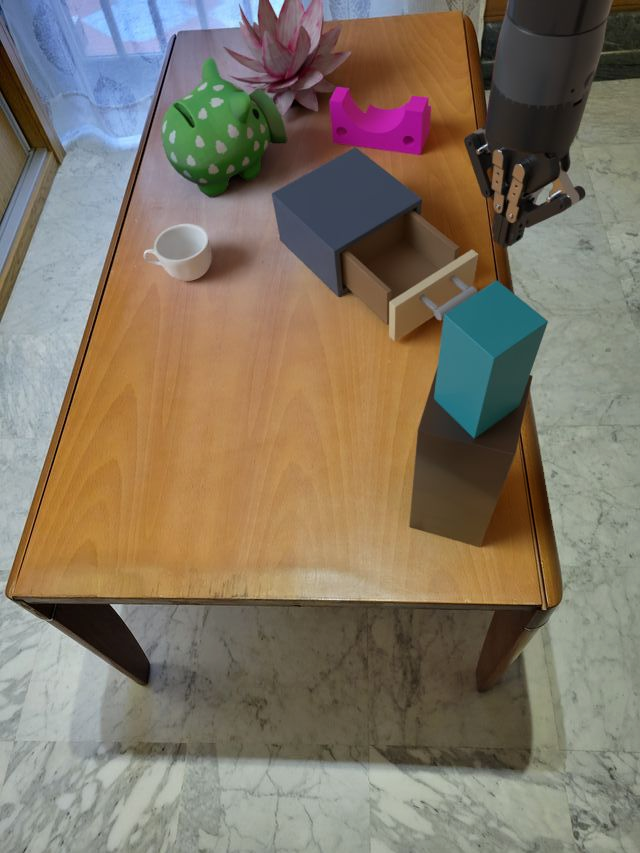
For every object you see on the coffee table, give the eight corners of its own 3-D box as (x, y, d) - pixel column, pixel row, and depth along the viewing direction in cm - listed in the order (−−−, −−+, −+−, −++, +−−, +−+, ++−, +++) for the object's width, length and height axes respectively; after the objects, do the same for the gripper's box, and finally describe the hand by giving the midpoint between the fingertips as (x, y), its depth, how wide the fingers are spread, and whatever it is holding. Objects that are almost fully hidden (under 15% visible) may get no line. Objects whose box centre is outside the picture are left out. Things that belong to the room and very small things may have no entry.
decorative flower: (365, 116, 109) (362, 25, 96) (244, 144, 108) (225, 56, 95) (335, 50, 120) (329, -40, 107) (225, 75, 119) (205, -13, 106)
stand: (494, 484, 73) (533, 375, 54) (480, 547, 69) (515, 454, 50) (426, 466, 75) (440, 355, 56) (408, 527, 71) (417, 430, 52)
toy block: (429, 131, 106) (432, 87, 99) (420, 154, 103) (422, 112, 96) (344, 119, 109) (341, 77, 103) (332, 142, 106) (329, 100, 100)
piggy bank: (297, 172, 103) (285, 84, 91) (198, 219, 100) (171, 133, 87) (257, 129, 110) (240, 41, 97) (163, 171, 107) (132, 85, 94)
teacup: (218, 248, 96) (209, 220, 92) (215, 286, 92) (206, 259, 88) (153, 254, 97) (142, 227, 92) (148, 292, 93) (136, 265, 88)
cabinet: (419, 247, 93) (422, 198, 85) (338, 297, 89) (334, 251, 82) (357, 195, 99) (355, 146, 92) (280, 240, 96) (271, 193, 88)
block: (519, 406, 53) (548, 321, 43) (474, 439, 52) (494, 359, 42) (477, 368, 55) (496, 279, 45) (433, 398, 54) (443, 314, 44)
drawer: (494, 309, 85) (502, 272, 79) (415, 362, 81) (418, 328, 75) (408, 237, 93) (409, 199, 87) (333, 283, 89) (329, 246, 84)
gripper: (448, 56, 51) (433, 223, 66) (574, 133, 45) (526, 297, 60) (516, 19, 53) (487, 190, 68) (646, 89, 47) (582, 259, 62)
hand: (505, 240), depth 64 cm, fingers closed
